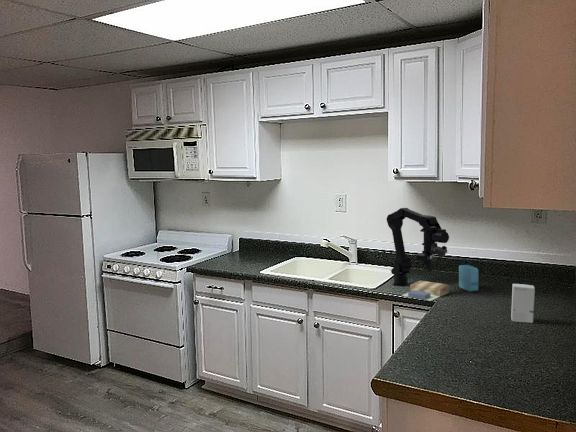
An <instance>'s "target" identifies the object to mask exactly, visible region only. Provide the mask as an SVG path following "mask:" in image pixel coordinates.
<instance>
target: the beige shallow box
mask: <svg viewBox="0 0 576 432" xmlns="http://www.w3.org/2000/svg"><path fill="white" fill-rule="evenodd" d="M409 285H410V287H409V288H410V291H409V292H411V291H413V290H415V291H422V292H428V293H430V295H434V296H440V297H442V296H445V295H447V294H449V293H450V284H447V283H442V282H441V283H440V282H431V281H427V280H418V281H416V282H414V283H412V284H409ZM440 297H439V298H440Z"/></svg>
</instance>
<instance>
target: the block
mask: <svg viewBox="0 0 576 432" xmlns="http://www.w3.org/2000/svg"><path fill="white" fill-rule="evenodd" d="M408 292H409V293H408ZM408 292H407V293H408V298H411V297H413V299H417V298H419V299H418V300H423V299H427V298H429V297H430V293H428V292H422V291H415V290H413V291H411V292H410V291H408Z"/></svg>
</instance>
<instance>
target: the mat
mask: <svg viewBox="0 0 576 432" xmlns="http://www.w3.org/2000/svg"><path fill="white" fill-rule="evenodd" d="M409 292H410V291H408V292H406V293H404V294H401V297H405V298H406V297H408V293H409ZM408 298H409V297H408ZM410 298H413V297H410ZM438 298H440V296H434V295H430V297H429V298H427V299H422V300H423V301H430V302H431V301H435V300H436V299H438ZM413 299H414V298H413ZM416 299H418V300H420V299H419V298H416Z"/></svg>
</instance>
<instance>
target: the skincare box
mask: <svg viewBox="0 0 576 432" xmlns="http://www.w3.org/2000/svg"><path fill="white" fill-rule="evenodd" d="M511 288H512V289H511V290H512V291H511V310H510V313H511V314H510V318H511V322H517V323H527V324H528V323H530V324H533V323H534V311H535V310H534V308H535V294H536V293H535V291H536V289H535V286H534V285H533V284H524V283H523V284H522V283H521V284H520V283H512V287H511Z"/></svg>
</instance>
